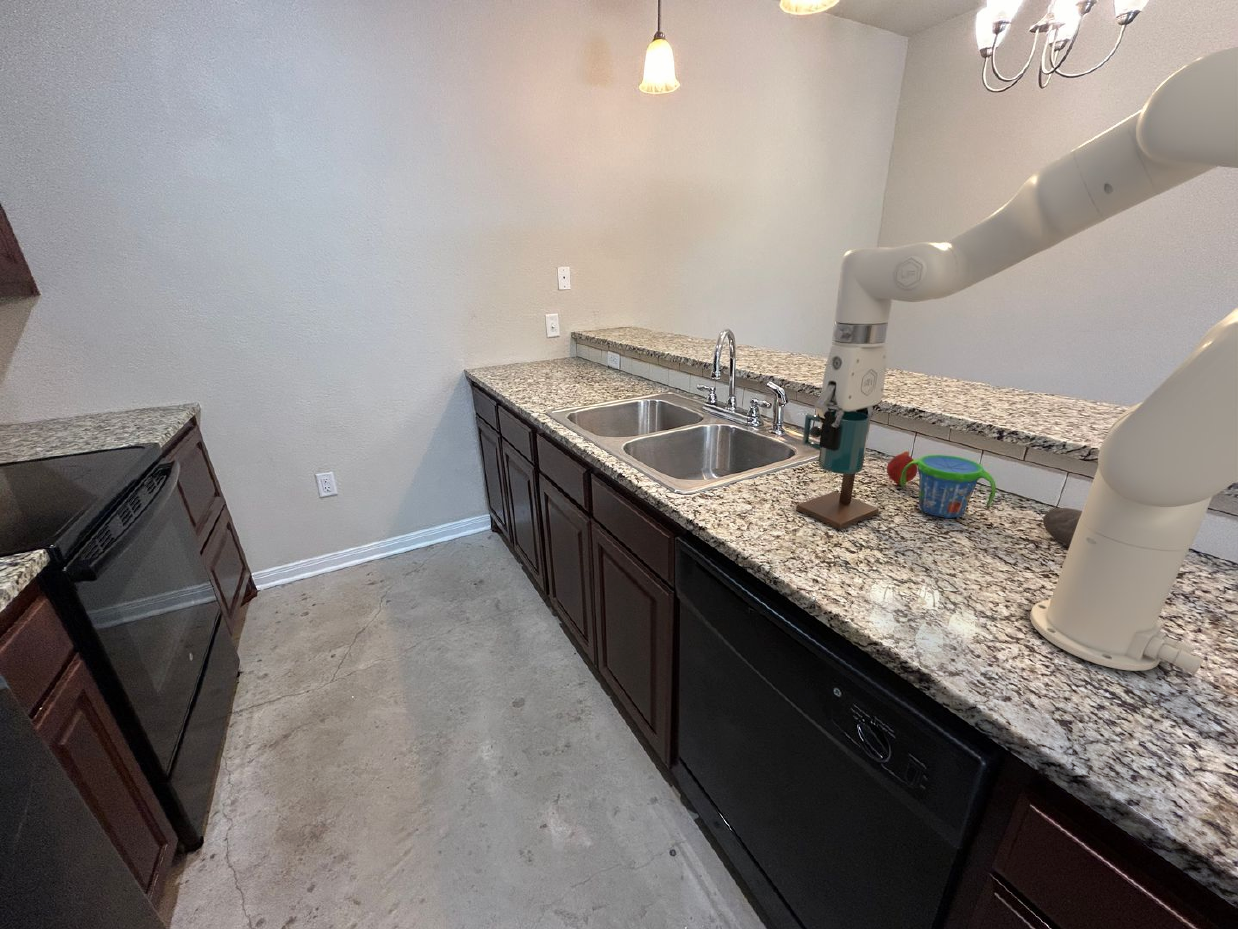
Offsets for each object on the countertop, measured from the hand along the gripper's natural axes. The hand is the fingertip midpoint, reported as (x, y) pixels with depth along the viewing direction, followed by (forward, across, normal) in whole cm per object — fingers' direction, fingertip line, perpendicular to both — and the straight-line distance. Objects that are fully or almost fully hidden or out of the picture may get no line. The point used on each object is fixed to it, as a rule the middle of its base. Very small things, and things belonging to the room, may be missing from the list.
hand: (843, 443), depth 83 cm
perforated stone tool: (+19, +31, -26) cm, 45 cm away
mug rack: (+18, +8, +6) cm, 21 cm away
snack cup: (+19, +28, -5) cm, 34 cm away
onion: (+18, +34, +7) cm, 39 cm away
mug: (+4, 0, +2) cm, 5 cm away
